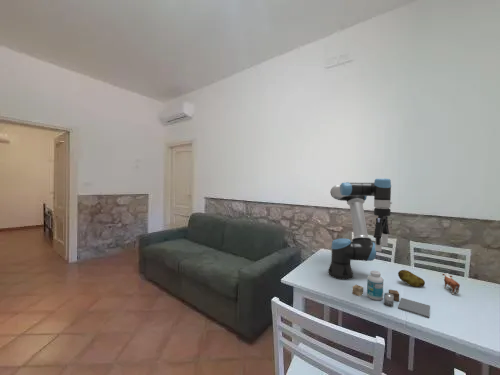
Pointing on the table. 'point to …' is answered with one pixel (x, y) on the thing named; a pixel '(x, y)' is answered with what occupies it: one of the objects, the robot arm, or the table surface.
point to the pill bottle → (375, 286)
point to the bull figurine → (451, 283)
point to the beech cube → (357, 290)
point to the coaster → (414, 307)
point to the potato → (411, 278)
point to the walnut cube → (395, 294)
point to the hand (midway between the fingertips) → (381, 248)
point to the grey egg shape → (389, 299)
